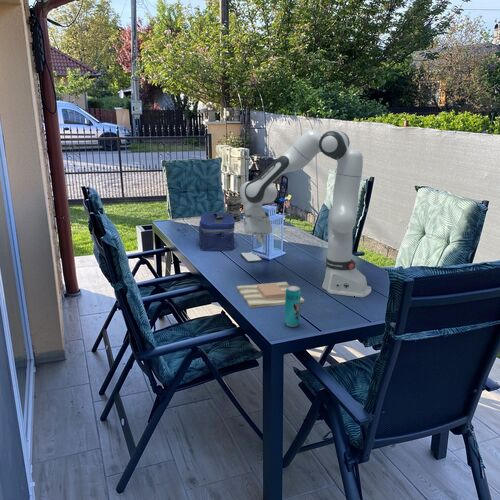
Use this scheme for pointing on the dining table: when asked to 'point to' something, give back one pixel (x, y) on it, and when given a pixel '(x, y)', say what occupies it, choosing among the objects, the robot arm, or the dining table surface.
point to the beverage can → (292, 306)
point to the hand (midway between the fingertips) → (262, 242)
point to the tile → (270, 292)
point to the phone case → (250, 257)
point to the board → (257, 300)
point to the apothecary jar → (233, 207)
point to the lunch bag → (216, 232)
